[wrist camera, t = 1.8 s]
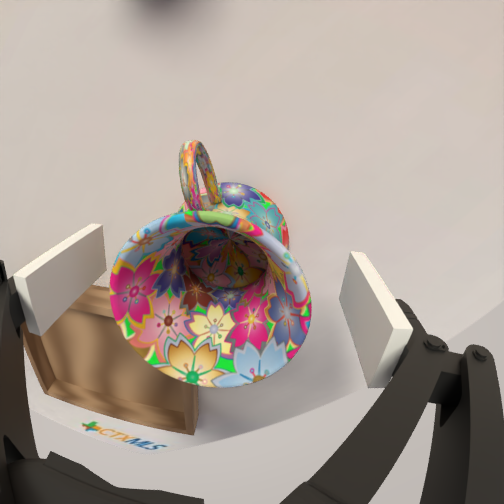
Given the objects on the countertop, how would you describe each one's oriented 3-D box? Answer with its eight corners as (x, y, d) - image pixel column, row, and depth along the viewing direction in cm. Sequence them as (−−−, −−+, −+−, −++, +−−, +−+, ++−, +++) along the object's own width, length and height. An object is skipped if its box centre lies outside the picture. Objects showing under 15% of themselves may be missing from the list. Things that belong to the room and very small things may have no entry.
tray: (55, 378, 31) (44, 393, 28) (21, 271, 25) (4, 284, 22) (198, 414, 31) (193, 435, 28) (196, 300, 25) (188, 321, 22)
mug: (296, 286, 24) (311, 384, 14) (183, 294, 25) (141, 386, 15) (284, 130, 20) (301, 127, 10) (155, 148, 21) (72, 166, 11)
